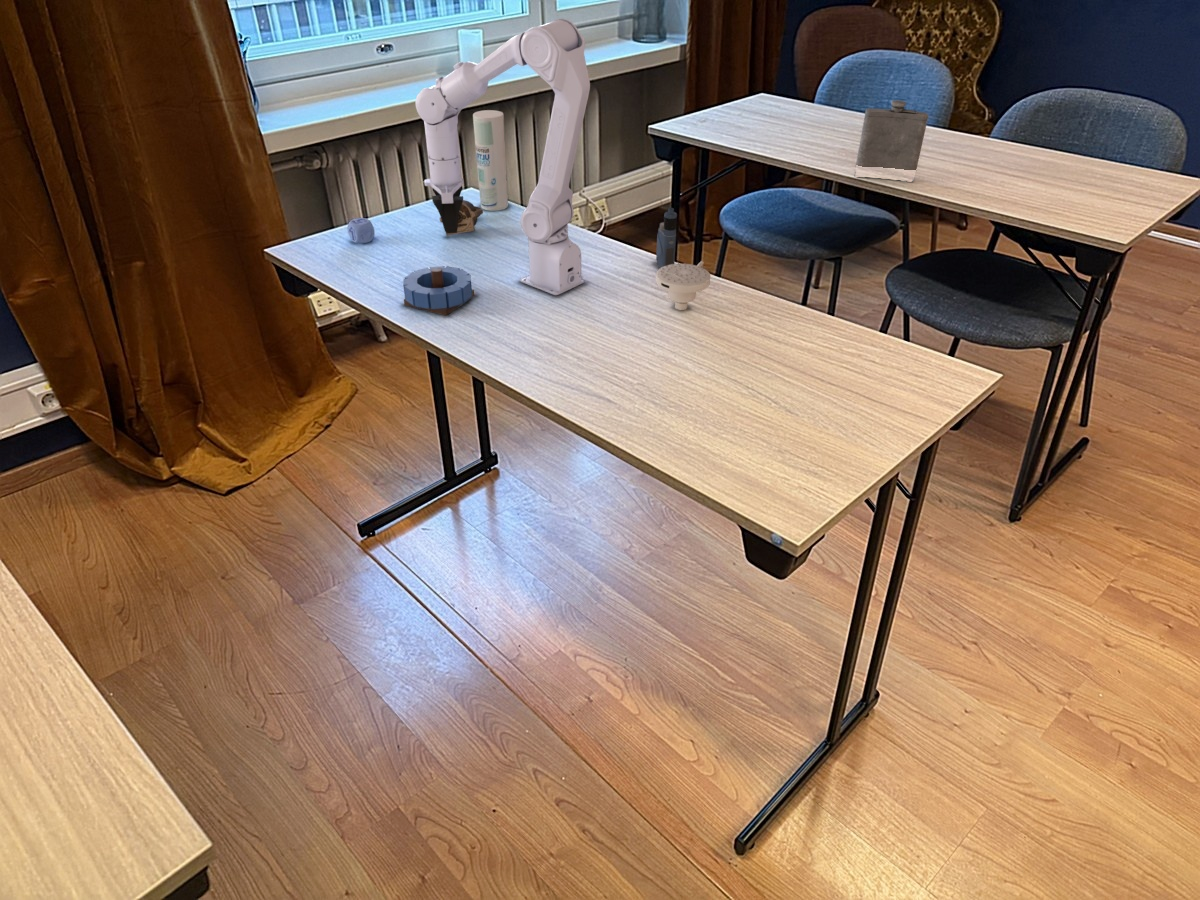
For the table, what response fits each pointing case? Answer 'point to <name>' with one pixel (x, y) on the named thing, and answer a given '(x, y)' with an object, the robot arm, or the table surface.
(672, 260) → the vaping device
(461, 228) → the mechanical counter
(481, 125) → the spray can
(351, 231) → the decorative dice
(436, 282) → the brown peg stand
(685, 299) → the showerhead
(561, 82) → the robot arm
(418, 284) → the ring
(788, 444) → the table surface
